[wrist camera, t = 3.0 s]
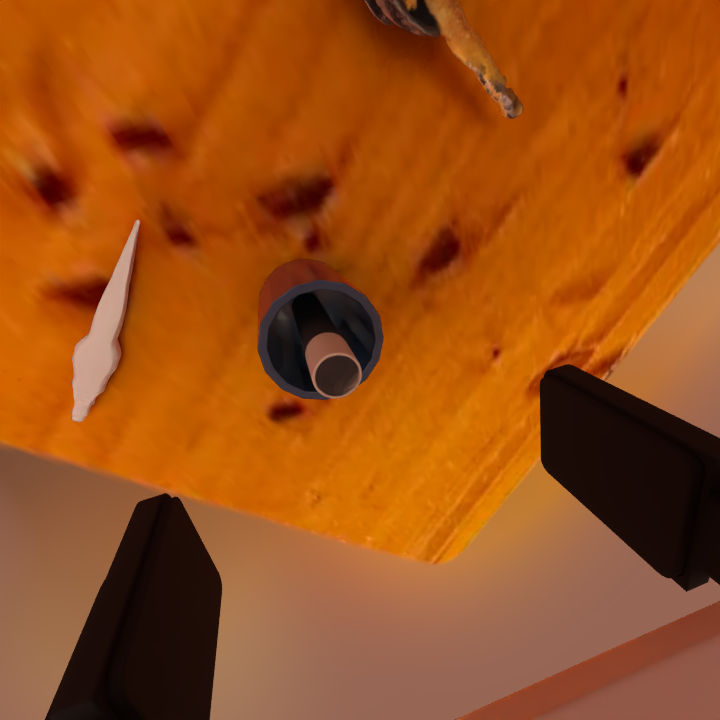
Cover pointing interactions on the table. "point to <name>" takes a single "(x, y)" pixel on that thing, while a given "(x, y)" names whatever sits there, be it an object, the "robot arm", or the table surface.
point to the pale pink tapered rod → (103, 335)
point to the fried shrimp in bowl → (450, 41)
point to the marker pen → (325, 349)
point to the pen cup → (281, 333)
